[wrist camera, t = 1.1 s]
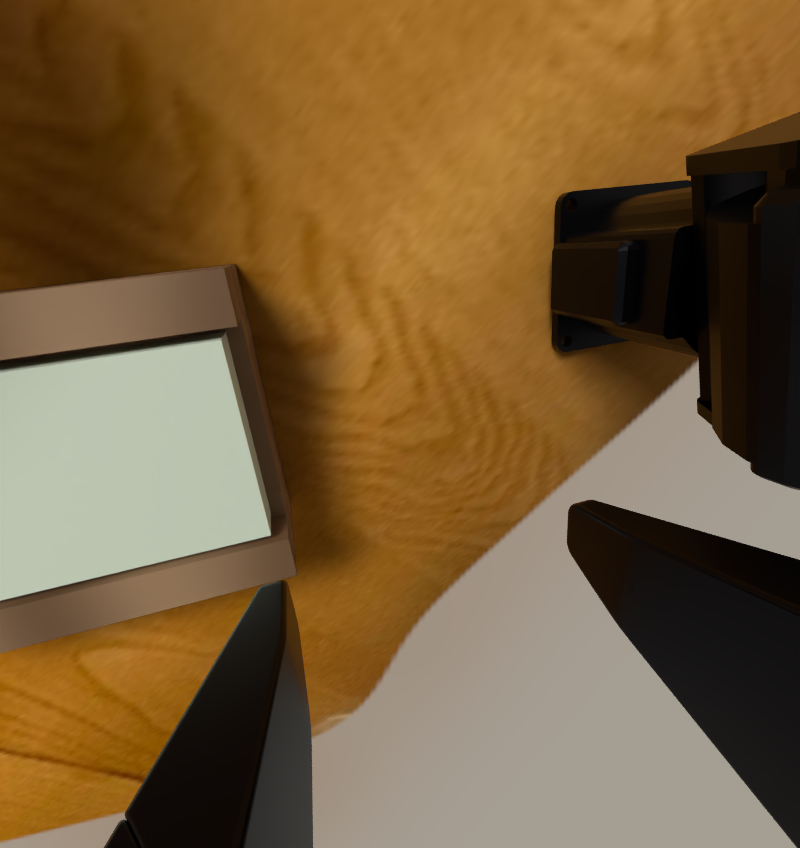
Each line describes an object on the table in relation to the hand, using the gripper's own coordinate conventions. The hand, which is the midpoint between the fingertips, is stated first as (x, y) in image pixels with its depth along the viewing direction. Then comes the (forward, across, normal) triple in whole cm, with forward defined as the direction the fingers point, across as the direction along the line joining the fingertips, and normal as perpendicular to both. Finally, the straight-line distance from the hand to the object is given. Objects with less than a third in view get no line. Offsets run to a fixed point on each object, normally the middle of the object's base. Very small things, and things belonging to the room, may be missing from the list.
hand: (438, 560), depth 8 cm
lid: (+8, +10, 0) cm, 13 cm away
